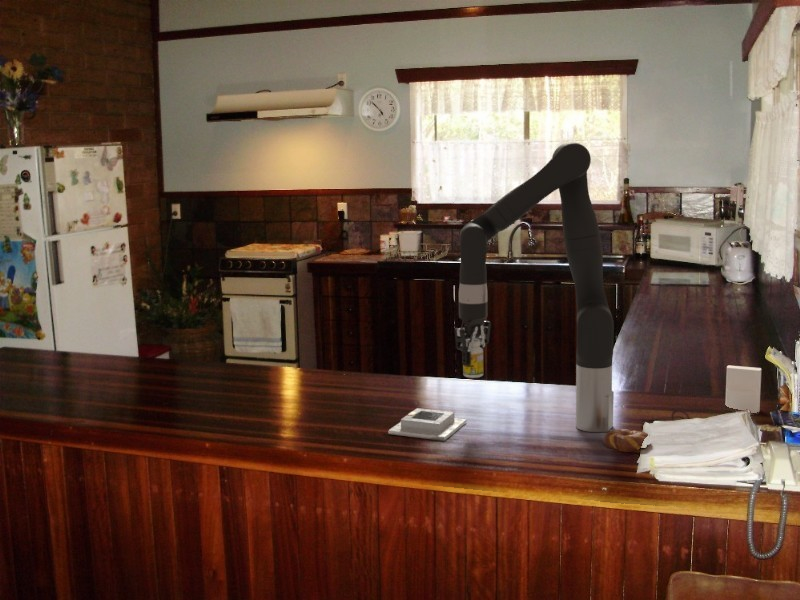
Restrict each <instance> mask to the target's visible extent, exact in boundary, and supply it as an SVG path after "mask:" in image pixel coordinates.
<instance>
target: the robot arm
mask: <svg viewBox="0 0 800 600" xmlns="http://www.w3.org/2000/svg"><path fill="white" fill-rule="evenodd" d="M591 160H592V157H591V153H590V152H589V149H588V148H587V147H586V146H585V145H583V144H581V143H579V142H575V141H574V142H573V141H572V142H565V143H562V144H560V145H559V146H558V147H556V149H554V152H553V153H552V156H551V159H550V160H548V162H547V163H546V164H545V165H544V166H542V168H541V169H540V170H539V171H537V172H536V174H534V175H532V176H531V177H530V178H529V179H527V180H525V181H524V182H522V183H521V184H520V185H518V186H516V187H515V188H513V189H512V190H510V191H508V192H507V193H506V194H505V195H504V196H502V197H501V198H500V199H498V200H497V201H496V202H495V203H493V204H492V205H491V206H490V207H489V208H488V209H486V210H485V211H484V212H483V213H482V214H479V215H478V216H476V217H474V219H472V220H471V221H469V222H468V223H467V224H465V225H464V226H463V227H462V229H461V230H460V232H459V253H460V256H459V257H460V265H459V288H458V318H459V319H460V320H462V321H461V322H462V323H461V325H460V326H461V327H459V328H458V327H455V328H454V329H453V330H454V338H455V346H456V347H455V348H456V350H457V351H458V350H459V351H461V363H462V366H463V365H467V366H469V365H470V364H471V352H470V350H471V346H472V344H473V343H474V340H475V339H479V340H480V344H481V345H480V347H481V348H482V349H483V358H484V352H485V351H484V348H485V346H486V344H489V342H490V334H491V329H492V328H491V327H492V322H491V321H489V320H485V319H487V317H488V286H487V282H488V281H487V279H488V278H487V263H486V262H487V252H488V251H487V250H488V249H487V248H488V241H490V240H491V239H492V238H494V237H495V236H496V235H497V234H499V233H500V232H503V231H505V230H506V229H508V228H510V227H511V226H512V225H513V224H515V223H516V222H517V221H518V220H520V219H522V217H524V216H525V215H526V214H527V213H528V212H530V211H531V210H532V208H534V207H536V206H537V205H538V204H539V203H541V201H542V200H544V199H545V198H546V197H548V196H549V195H550V194H552V193H554V192H555V191H556V190H558V191H559V196H560V204H561V205H560V206H561V222H562V233H563V234H562V235H563V241H564V248H565V252H566V253H565V254H566V259H567V262H568V266H569V270H570V273H571V276H572V280H573V283H574V288H575V296H576V297H575V299H576V300H575V301H576V365H575V367H576V369H575V370H576V371H575V373H576V375H575V376H576V377H575V379H576V380H575V381H576V382H575V387H576V389H575V428H577V429H578V430H580V431H582V432H588V433H589V432H591V433H603V432H605V433H607V432H609V431H611V429H612V427H614V397H615V395H614V391H613V390H612V389H613V357H614V338H615V337H614V336H615V335H614V334H615V333H614V331H615V330H614V327H615V325H614V319H613V315H612V313H611V309H610V307H609V304H608V299H607V296H606V292H605V291H606V290H605V287H604V280H603V279H604V277H603V276H604V258H603V245H602V237H601V231H600V228H599V222H598V220H597V217H596V213H595V210H594V207H593V204H592V201H591V198H590V191H589V185H588V184H589V183H588V170H589V169H590V165H591V162H592V161H591ZM468 339H469V340H468ZM466 343H468V346H466Z"/></svg>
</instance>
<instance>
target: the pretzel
mask: <svg viewBox="0 0 800 600" xmlns="http://www.w3.org/2000/svg"><path fill="white" fill-rule="evenodd" d="M648 434H649V433H648V432H644V431H638V430H636V429H635V430H630V429H628V428H620V429H612V430H610V431H609V432H606V434H605V435H604V436H603V444H604V445H605V446H606V447H607V448H609V449H614V450H618V451H620V452H625V453H629V452H634V451H640V450H641V449H640V448H641V446H642V443H643V441H644V439H645V438H646V437H647V436H648ZM639 449H640V450H639Z"/></svg>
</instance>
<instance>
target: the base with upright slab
mask: <svg viewBox="0 0 800 600" xmlns="http://www.w3.org/2000/svg"><path fill="white" fill-rule="evenodd" d="M725 380H726V381H725V384H726V385H725V405H726V406H727V407H729V408H733V409H738V410H746V409H748V410H750V411H751V413H756V414H758V413H759V412H760V410H761V409H760V405H761V403H760V402H761V386H762V385H761V384H762V368H761V367H753V366H751V367H750V366H743V365H742V366H740V365H729V364H728V365H727V366H726V379H725ZM725 405H724V406H725ZM757 412H758V413H757Z"/></svg>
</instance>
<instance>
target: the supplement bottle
mask: <svg viewBox="0 0 800 600" xmlns="http://www.w3.org/2000/svg"><path fill="white" fill-rule="evenodd" d="M467 339H468V338H467ZM468 340H469V339H468ZM480 345H481V344H480V340H479V339H475V340H474V343H473V344H472V346H471V350H470V352H471V364H470V365H469V366H467V365H463V364H462V373H463V374H462V375H463V376H464V377H466V378H473V379H474V378H480V377H483V376H484V357H483V349H482V348H481V347H480ZM466 346H468V343H466Z"/></svg>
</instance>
